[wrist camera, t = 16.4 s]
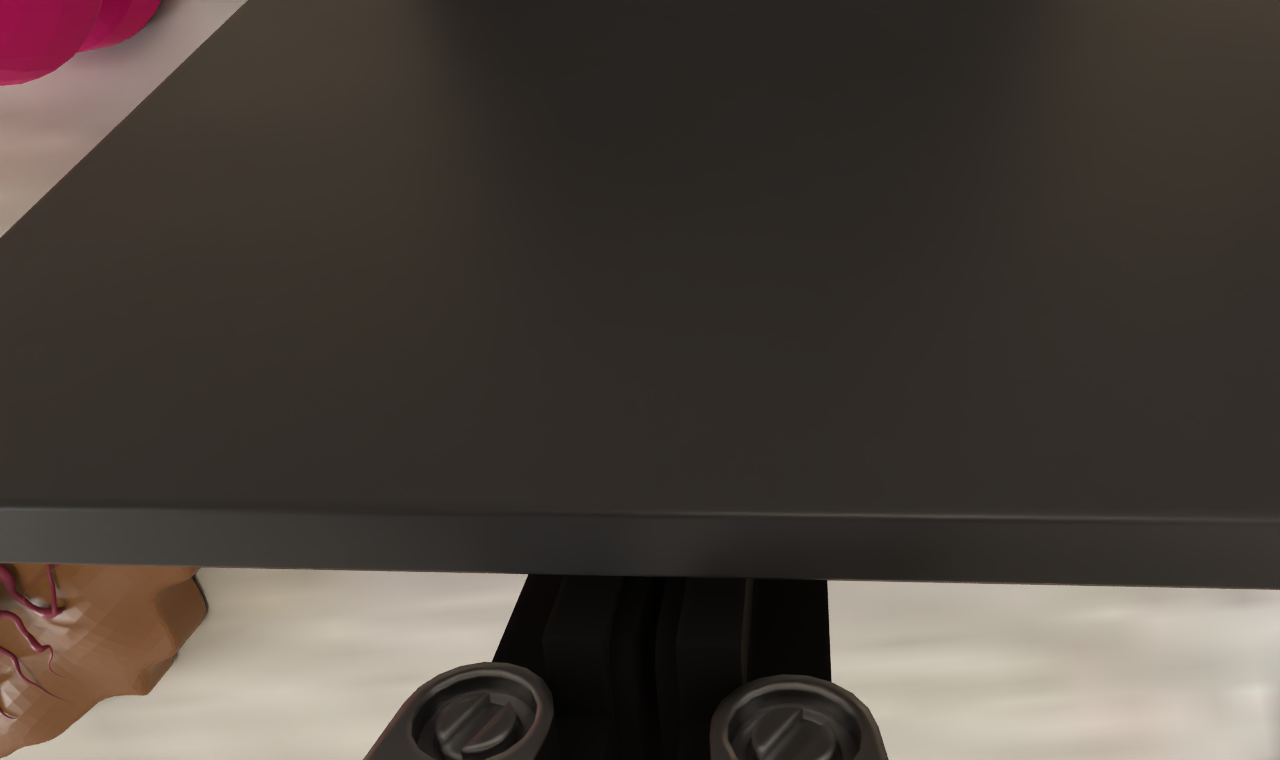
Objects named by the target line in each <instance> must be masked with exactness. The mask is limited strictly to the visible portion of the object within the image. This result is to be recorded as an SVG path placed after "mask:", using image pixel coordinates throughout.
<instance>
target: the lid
mask: <svg viewBox="0 0 1280 760" xmlns="http://www.w3.org/2000/svg"><path fill="white" fill-rule="evenodd" d="M0 563H27V564H74V565H122V566H170V567H218V568H265V569H313V570H361V571H409V572H457V573H504V574H552V575H600V576H648V577H696V578H743V579H791V580H839V581H887V582H934V583H982V584H1030V585H1078V586H1126V587H1173V588H1221V589H1269V590H1280V0H248V1H247V2H246V3H245V4H244V5H242V6H241V7H240V8H239V9H238V10H237V11H236V12H235V13H234V14H233V15H232V16H231V17H230V18H229V19H228V20H227V21H226V22H225V23H224V24H223V25H222V26H221V27H220V28H219V29H217V30H216V31H215V32H214V33H213V34H212V35H211V36H210V37H209V38H208V39H207V40H206V41H205V42H204V43H203V44H202V45H201V46H200V47H199V48H198V49H197V50H196V51H195V52H193V53H192V54H191V55H190V56H189V57H188V58H187V59H186V60H185V61H184V62H183V63H182V64H181V65H180V66H179V67H178V68H177V69H176V70H175V71H174V72H173V73H172V74H171V75H170V76H168V77H167V78H166V79H165V80H164V81H163V82H162V83H161V84H160V85H159V86H158V87H157V88H156V89H155V90H154V91H153V92H152V93H151V94H150V95H149V96H148V97H147V98H146V99H145V100H143V101H142V102H141V103H140V104H139V105H138V106H137V107H136V108H135V109H134V110H133V111H132V112H131V113H130V114H129V115H128V116H127V117H126V118H125V119H124V120H123V121H122V122H121V123H120V124H118V125H117V126H116V127H115V128H114V129H113V130H112V131H111V132H110V133H109V134H108V135H107V136H106V137H105V138H104V139H103V140H102V141H101V142H100V143H99V144H98V145H97V146H96V147H94V148H93V149H92V150H91V151H90V152H89V153H88V154H87V155H86V156H85V157H84V158H83V159H82V160H81V161H80V162H79V163H78V164H77V165H76V166H75V167H74V168H73V169H72V170H71V171H69V172H68V173H67V174H66V175H65V176H64V177H63V178H62V179H61V180H60V181H59V182H58V183H57V184H56V185H55V186H54V187H53V188H52V189H51V190H50V191H49V192H48V193H47V194H46V195H44V196H43V197H42V198H41V199H40V200H39V201H38V202H37V203H36V204H35V205H34V206H33V207H32V208H31V209H30V210H29V211H28V212H27V213H26V214H25V215H24V216H23V217H22V218H21V219H19V220H18V221H17V222H16V223H15V224H14V225H13V226H12V227H11V228H10V229H9V230H8V231H7V232H6V233H5V234H4V235H3V236H2V237H1V238H0Z"/></svg>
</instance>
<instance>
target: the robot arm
mask: <svg viewBox="0 0 1280 760" xmlns="http://www.w3.org/2000/svg"><path fill="white" fill-rule="evenodd" d="M363 760H888V757H887V753H886V750H885V747H884V744H883V740H882V737H881V734H880V731H879V727H878V725H877V723H876V721H875V720H874V718H873V716H872V714H871V712H870V710H869V708H868V707H867V706H865V705H864V704H863V703H862V702H861V701H860V700H859V699H858V698H857V697H856V696H855V695H854V694H853V693H851V692H849V691H847V690H845V689H844V688H842V687H840V686H838V685H836V684H834V683H832V682H831V660H830V636H829V612H828V588H827V580H791V579H743V578H696V577H648V576H600V575H552V574H528V577H527V579H526V582H525V584H524V586H523V589H522V591H521V593H520V596H519V598H518V601H517V603H516V605H515V608H514V610H513V613H512V615H511V617H510V620H509V622H508V625H507V627H506V629H505V632H504V634H503V636H502V639H501V641H500V644H499V646H498V648H497V651H496V653H495V656H494V658H493V660H492V662H482V663H476V664H470V665H464V666H460V667H457V668H455V669H452V670H450V671H447V672H444V673H442V674H439V675H437V676H436V677H434V678H433V679H431V680H430V681H428V682H426V683H425V684H423V685H422V686H420V687H419V688H418V689H417V690H416V691H415V692H414V693H413V694H412V695H411V696H410V697H409V698H408V699H407V700H406V701H405V702H404V703H403V705H402V706H401V708H400V709H399V710H398V712H397V713H396V715H395V716H394V717H393V719H392V720H391V722H390V723H389V724H388V726H387V727H386V729H385V730H384V731H383V733H382V734H381V735H380V737H379V738H378V740H377V741H376V742H375V744H374V745H373V747H372V748H371V749H370V751H369V752H368V754H367V755H366V756H365V758H364V759H363Z"/></svg>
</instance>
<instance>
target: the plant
mask: <svg viewBox="0 0 1280 760" xmlns="http://www.w3.org/2000/svg"><path fill="white" fill-rule="evenodd" d="M200 568H201V567H170V566H122V565H74V564H27V563H0V758H3V757H6V756H8V755H10V754H11V753H13V752H14V751H16V750H18V749H20V748H22V747H24V746H30V745H35V744H40V743H43V742H46V741H49V740H51V739H53V738H55V737H57V736H58V735H60V734H61V733H63V732H64V731H65V730H66V729H68V728H69V727H70V726H71V725H72V724H73V723H75V722H76V721H77V720H78V719H80V718H81V717H82V716H83V715H84V714H85V713H86V712H88V711H89V710H90V709H91V708H92V707H93V706H95V705H96V704H97V703H98V702H100V701H102V700H104V699H106V698H109V697H113V696H121V695H147V694H148V693H149V692H151V690H152V689H153V688H154V687H155V685H156V684H157V683H158V682H159V680H160V679H161V678H162V677H163V675H164V674H165V673H166V672H167V670H168V669H169V668H170V667H171V666H172V664H173V662H174V656H173V655H175V654H176V653H177V651H178V650H179V649H180V648H181V646H182V645H183V644H184V643H185V642H186V640H187V639H188V638H189V637H190V636H191V634H192V633H193V632H194V631H195V629H196V628H197V627H198V626H199V625H200V623H201V622H202V620H203V619H204V617H205V614H206V606H205V602H204V599H203V597H202V595H201V593H200V591H199V589H198V587H197V585H196V583H195V582H194V580H193V578H192V576H193V575H194V574H195V573H196V572H197V571H198V570H199V569H200Z"/></svg>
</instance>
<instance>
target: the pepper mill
mask: <svg viewBox="0 0 1280 760" xmlns="http://www.w3.org/2000/svg"><path fill="white" fill-rule="evenodd" d="M160 1H161V0H0V86H5V85H15V84H22V83H25V82H28V81H32V80H35V79H38V78H40V77H42V76H44V75H46V74H49V73H51V72H53V71H55V70H56V69H57V68H59V67H60V66H61V65H63V64H64V63H65V62H67V61H68V60H69V59H70V58H72V57H73V56H74V55H75V54H76V53H77V52H82V51H87V50H93V49H98V48H103V47H108V46H112V45H115V44H117V43H120V42H122V41H124V40H126V39H129V38H131V37H132V36H133V35H135V34H136V33H137V32H139V31H140V30H141V29H142V28H143V27H144V26H145V25H146V23H147V22H148V21H149V19H150V18H151V17H152V16H153V14H154V13H155V12H156V10H157V8H158V6H159V4H160Z"/></svg>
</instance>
